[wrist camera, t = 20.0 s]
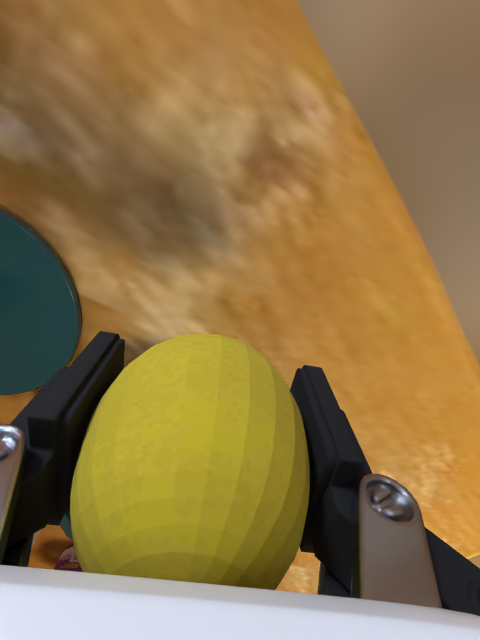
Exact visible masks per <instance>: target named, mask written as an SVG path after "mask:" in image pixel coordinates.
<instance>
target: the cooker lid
mask: <svg viewBox="0 0 480 640" xmlns="http://www.w3.org/2000/svg"><path fill="white" fill-rule="evenodd" d="M80 335H81V311H80V306H79V301H78V297H77V294H76V292H75V289H74V286H73V284H72V282H71V280H70V278H69V276H68V274H67V272H66V270H65V269H64V267H63V265H62V264H61V262H60V261H59V259H58V258H57V257H56V255H55V254H54V253H53V252H52V251H51V249H50V248H49V247H48V246H47V245H46V244H45V243H44V242H43V241H42V240H41V239H40V238H39V237H38V236H37V235H36V234H35V233H34V232H33V231H31V230H30V229H29V228H28V227H26V226H25V225H24V224H23V223H21V222H20V221H18V220H17V219H15V218H14V217H12V216H11V215H9V214H7V213H5V212H3V211H1V210H0V395H11V394H19V393H24V392H28V391H31V390H34V389H36V388H39V387H41V386H43V385H45V384H46V383H47V382H48V381H49V380H50V379H51V378H52V376H53V375H54V374H55V373H56V372H57V371H58V370H59V369H60V368H61V367H66V366H67V365H68V364H69V362H70V361H71V359H72V357H73V356H74V354H75V351H76V349H77V347H78V343H79V339H80Z"/></svg>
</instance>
